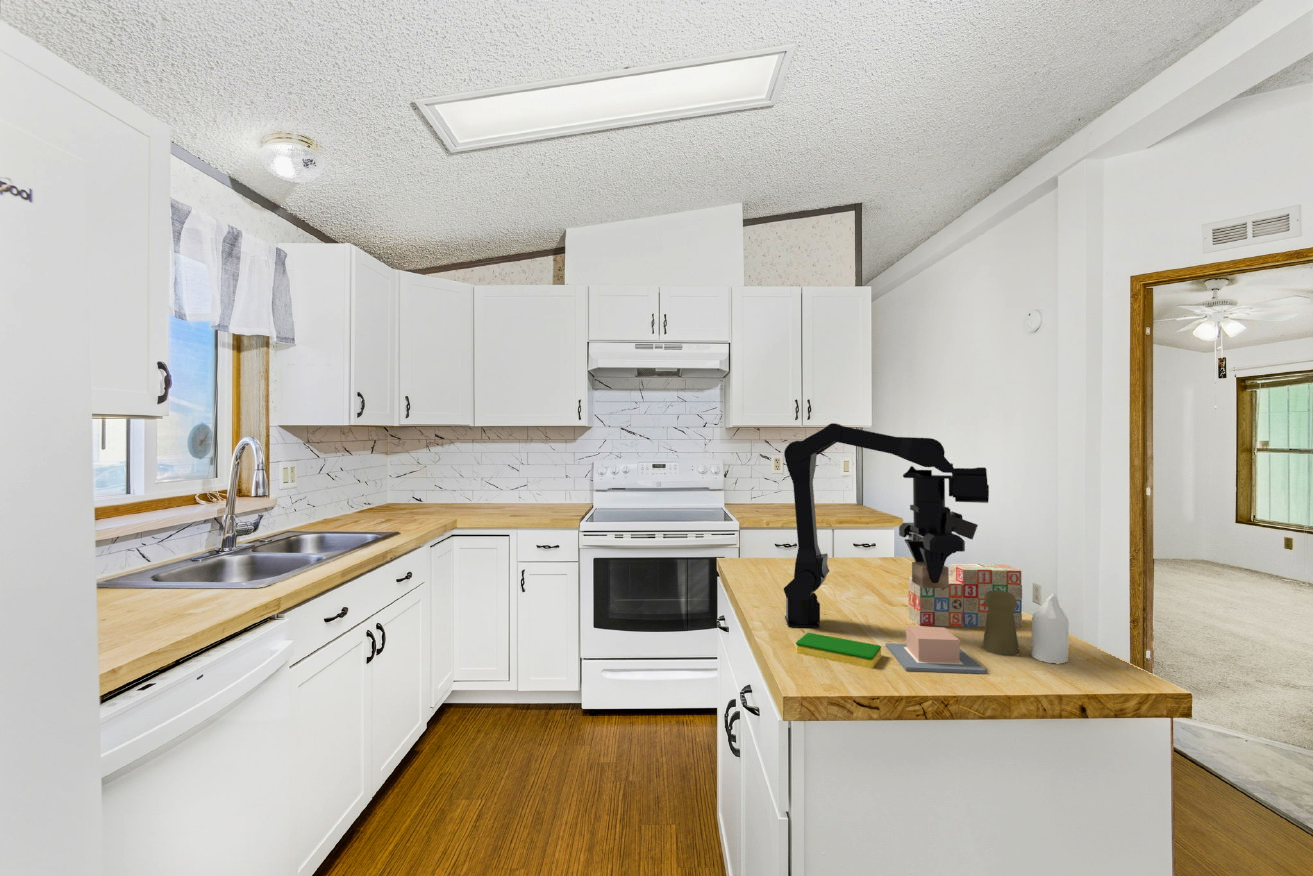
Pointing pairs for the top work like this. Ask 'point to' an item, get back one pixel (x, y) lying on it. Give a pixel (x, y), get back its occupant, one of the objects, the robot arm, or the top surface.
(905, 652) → the slate mat
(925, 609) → the stack of blocks
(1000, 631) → the cork
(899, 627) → the top surface
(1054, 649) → the white pointed cylinder
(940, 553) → the robot arm
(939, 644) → the pink square block
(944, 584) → the walnut cube
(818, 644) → the dish sponge
